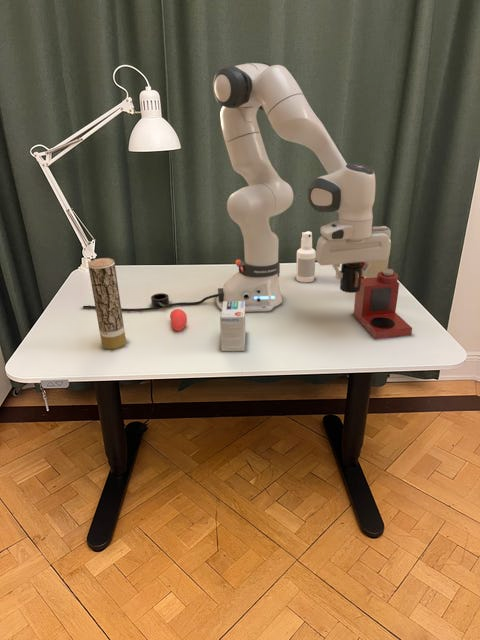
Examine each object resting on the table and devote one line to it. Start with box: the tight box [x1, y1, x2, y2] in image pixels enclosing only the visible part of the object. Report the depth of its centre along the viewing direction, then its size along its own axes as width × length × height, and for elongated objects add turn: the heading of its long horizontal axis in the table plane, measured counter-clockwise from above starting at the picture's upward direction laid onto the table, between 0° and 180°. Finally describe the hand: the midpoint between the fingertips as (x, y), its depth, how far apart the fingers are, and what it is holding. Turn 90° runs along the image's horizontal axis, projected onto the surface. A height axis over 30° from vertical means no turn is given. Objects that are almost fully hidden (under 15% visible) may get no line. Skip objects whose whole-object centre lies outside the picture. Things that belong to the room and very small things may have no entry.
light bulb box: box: [219, 301, 246, 352], centre depth 136 cm, size 11×7×11 cm, turn 178°
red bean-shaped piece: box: [169, 308, 188, 331], centre depth 148 cm, size 5×9×6 cm
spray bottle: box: [295, 230, 316, 283], centre depth 177 cm, size 7×7×18 cm
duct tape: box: [150, 292, 170, 308], centre depth 162 cm, size 8×10×3 cm
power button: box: [383, 268, 395, 277], centre depth 145 cm, size 3×3×2 cm
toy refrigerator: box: [364, 238, 392, 278], centre depth 160 cm, size 8×7×21 cm
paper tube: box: [87, 257, 127, 350], centre depth 134 cm, size 7×7×25 cm
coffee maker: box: [353, 271, 400, 324], centre depth 148 cm, size 12×6×14 cm, turn 100°
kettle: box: [339, 262, 362, 294], centre depth 134 cm, size 6×9×8 cm, turn 10°
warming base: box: [360, 288, 413, 340], centre depth 142 cm, size 11×10×11 cm
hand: (350, 276), depth 134 cm, fingers closed on kettle, 5 cm apart
